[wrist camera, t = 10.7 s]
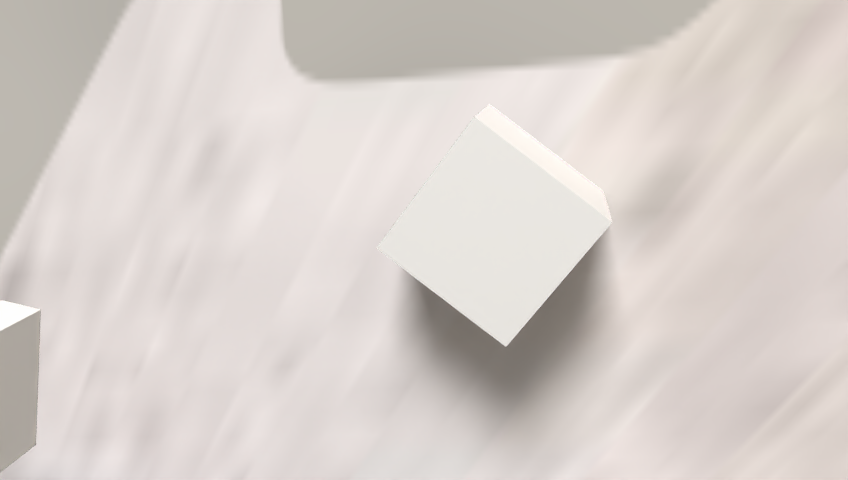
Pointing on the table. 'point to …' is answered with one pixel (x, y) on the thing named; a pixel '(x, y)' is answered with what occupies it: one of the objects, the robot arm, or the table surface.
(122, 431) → the table surface
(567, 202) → the light grey cube
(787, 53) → the table surface
